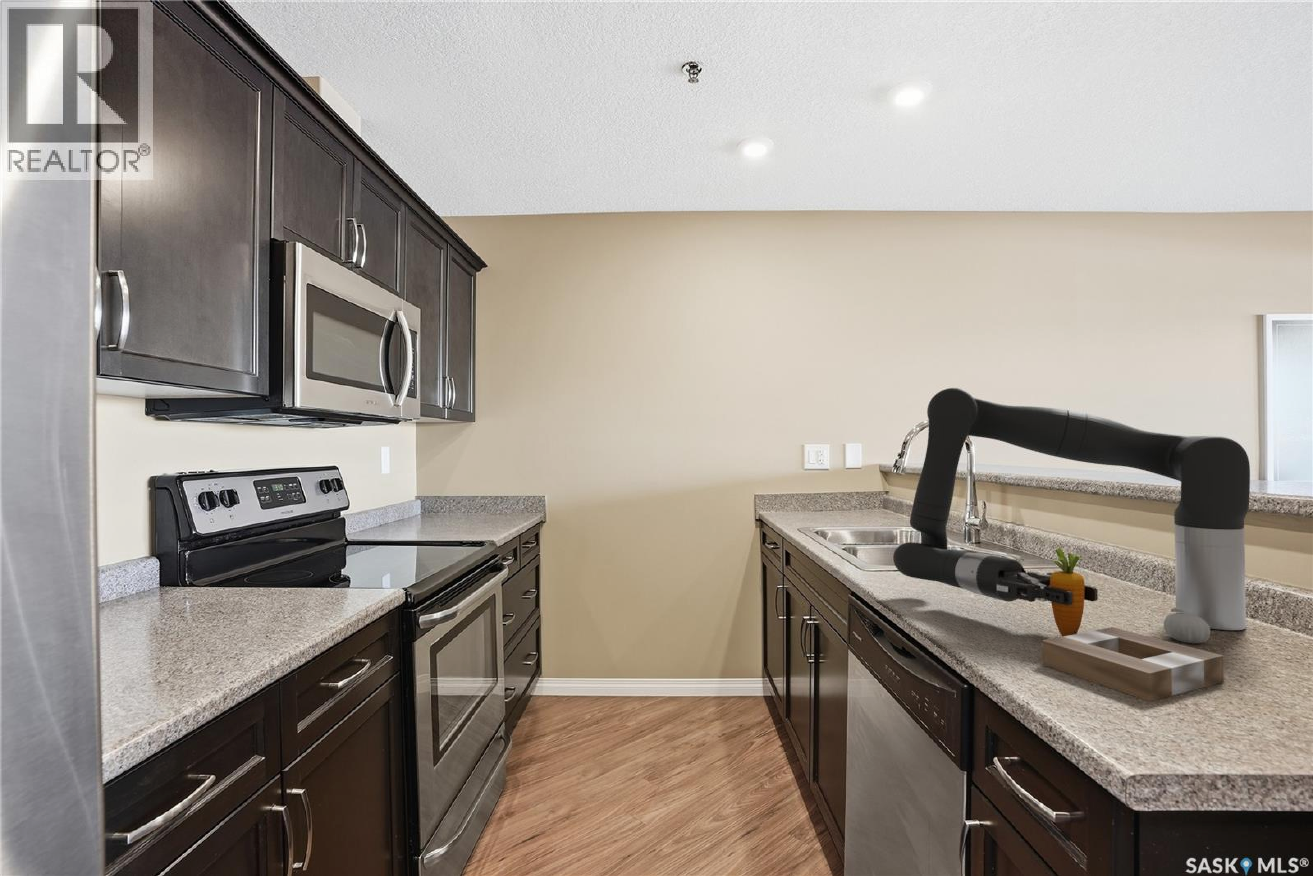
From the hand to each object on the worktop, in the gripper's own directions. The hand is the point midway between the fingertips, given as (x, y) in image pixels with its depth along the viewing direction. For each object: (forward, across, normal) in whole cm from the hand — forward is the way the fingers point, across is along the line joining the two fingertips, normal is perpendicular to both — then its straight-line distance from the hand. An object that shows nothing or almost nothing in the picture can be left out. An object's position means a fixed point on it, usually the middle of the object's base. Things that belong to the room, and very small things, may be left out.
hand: (1083, 596), depth 97 cm
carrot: (-3, 0, +8) cm, 9 cm away
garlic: (+4, +18, +8) cm, 20 cm away
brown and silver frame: (+9, -5, +8) cm, 13 cm away
